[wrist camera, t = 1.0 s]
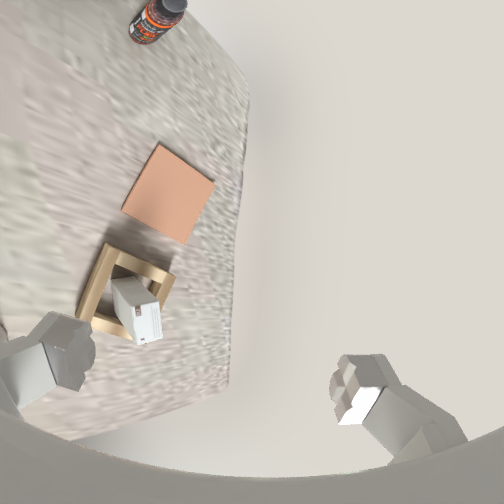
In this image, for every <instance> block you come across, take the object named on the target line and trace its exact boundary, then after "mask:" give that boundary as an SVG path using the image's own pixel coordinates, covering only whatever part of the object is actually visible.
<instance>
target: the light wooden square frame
mask: <svg viewBox="0 0 504 504" xmlns="http://www.w3.org/2000/svg"><path fill="white" fill-rule="evenodd" d="M115 264H117V265H119V266H121V267H124V268H126V269H128V270H131V271H133V272H135V273H137V274H140V275H142V276H144V277H147V278H149V279H151V280H154V281H153V284H152V286H151V288H150V290H149V292H151V293H152V294H153V295H154V296H155V297H156V298H157V299H158V300H159V305H160V311H161V309H162V307H163V305H164V303H165V300H166V298H167V296H168V294H169V292H170V290H171V288H172V285H173V283H174V281H175V279H176V276H174V275H173V274H171V273H169V272H168V271H165V270H163V269H161V268H159V267H156V266H154V265H152V264H150V263H148V262H146V261H143V260H141V259H139V258H137V257H135V256H133V255H131V254H129V253H126V252H124V251H122V250H120V249H118V248H116V247H114V246H112V245H110V244H108V243H106V242H105V243H104V246H103V248H102V250H101V252H100V254H99V257H98V259H97V261H96V264H95V266H94V268H93V271H92V273H91V275H90V278H89V280H88V283H87V285H86V288H85V290H84V293H83V295H82V298H81V301H80V303H79V306H78V309H77V312H76V314H75V317H76V318H79V319H82V320H86V321H88V322H90V323H91V327H92V328H93V329H96V330H99V331H102V332H106V333H109V334H112V335H116V336H119V337H122V338H126V339H129V340H133V339H132V337H131V336H130V334H129V333H128V331H127V330H126V329H125V327H124V326H123V324H122V323H121V321H120V320H119V319H118V318H115V317H112V316H109V315H106V314H103V313H100V312H98V311H95V310H96V308H97V305H98V303H99V300H100V298H101V295H102V293H103V290H104V288H105V286H106V283H107V281H108V279H109V276H110V274H111V272H112V269H113V267H114V265H115ZM133 341H134V340H133ZM144 344H146V343H144Z"/></svg>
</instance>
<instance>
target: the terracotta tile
mask: <svg viewBox="0 0 504 504" xmlns="http://www.w3.org/2000/svg"><path fill="white" fill-rule="evenodd" d="M214 187H215V184H214V183H213V182H211V181H210V180H208V179H207V178H206V177H204V176H203V175H202V174H200V173H199V172H197V171H196V170H195V169H193V168H192V167H191V166H189V165H188V164H186V163H185V162H184V161H182V160H181V159H179V158H178V157H177V156H175V155H174V154H172V153H171V152H170V151H168V150H167V149H165V148H164V147H163V146H161V145H157V147H156V149H155V150H154V152H153V154H152V155H151V157H150V158H149V160H148V162H147V164H146V165H145V167H144V169H143V170H142V172H141V174H140V176H139V177H138V179H137V181H136V183H135V184H134V186H133V188H132V190H131V192H130V194H129V195H128V197H127V199H126V201H125V203H124V205H123V207H122V209H121V211H123V212H125V213H126V214H128V215H130V216H132V217H134V218H135V219H137V220H139V221H141V222H143V223H145V224H146V225H148V226H150V227H152V228H154V229H156V230H157V231H159V232H161V233H163V234H165V235H167V236H169V237H170V238H172V239H174V240H176V241H178V242H180V243H182V244H184V245H185V243H186V241H187V239H188V237H189V235H190V233H191V231H192V229H193V227H194V225H195V223H196V221H197V219H198V217H199V215H200V214H201V212H202V210H203V208H204V206H205V204H206V202H207V200H208V198H209V196H210V195H211V193H212V191H213V189H214Z"/></svg>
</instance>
